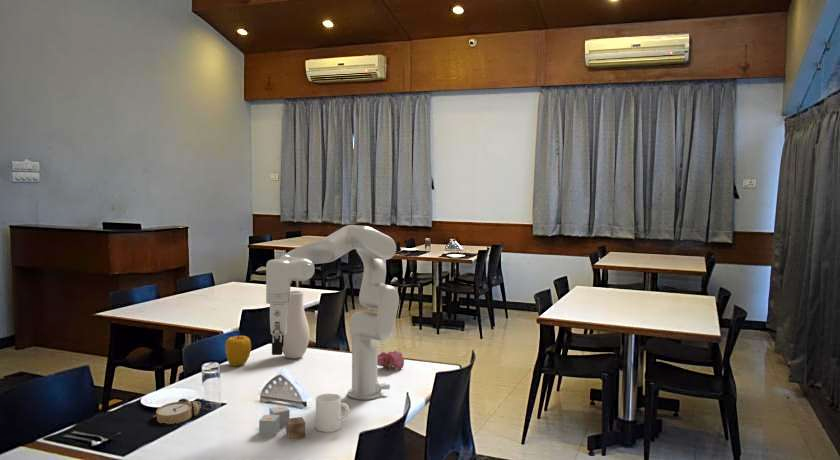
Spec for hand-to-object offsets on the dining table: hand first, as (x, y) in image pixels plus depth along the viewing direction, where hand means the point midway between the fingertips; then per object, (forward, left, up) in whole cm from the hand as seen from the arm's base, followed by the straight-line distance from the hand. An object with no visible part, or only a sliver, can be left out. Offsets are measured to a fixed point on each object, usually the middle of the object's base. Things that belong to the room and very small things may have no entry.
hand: (277, 350), depth 194 cm
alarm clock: (+32, -15, -25) cm, 44 cm away
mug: (-18, +5, -25) cm, 31 cm away
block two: (0, -2, -25) cm, 25 cm away
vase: (-7, -81, -25) cm, 85 cm away
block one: (+2, +5, -25) cm, 26 cm away
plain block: (-5, +9, -25) cm, 27 cm away
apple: (+17, -73, -25) cm, 79 cm away
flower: (-46, -55, -25) cm, 76 cm away
